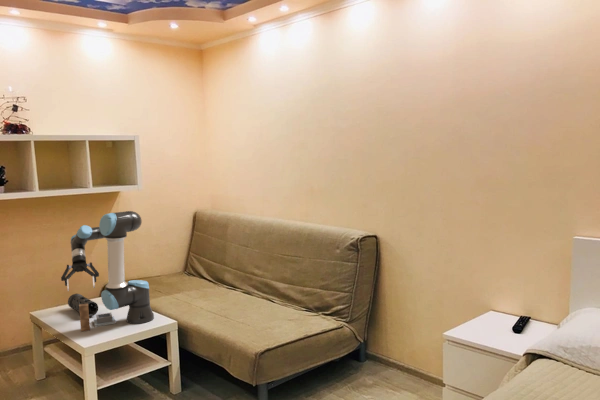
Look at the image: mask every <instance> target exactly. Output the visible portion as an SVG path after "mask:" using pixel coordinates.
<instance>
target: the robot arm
mask: <svg viewBox="0 0 600 400" xmlns="http://www.w3.org/2000/svg"><path fill="white" fill-rule="evenodd" d="M142 222H143V220H142V217H141V215H140V214H139V213H138V212H135V211H133V210H127V211H117V212H110V213H105V214H104V215H102V216H101V218H100V220H99V225H98V226H94V227H91V226H89V225H86V224H83V225H82V226H79V228H78V230H77V232H76V234H74V235H72V236H71V238H70V248H71V263H72V264H71V265H69V264H66V267H65V270H64V272H63V274H62V275H61V276H60V280H61V281H62V282H64V286H65V287H66V286H67V287H66V288H67V289H66V290H67V292H70V287H69V280H70V278H72V276H73V275H74V274H75V273H80V272H81V273H82V272H85V273H87V274H88V275H90V277H92V278H91V279H92V287H93V288H94V289H95V288H96V283H97V277H100V273H99V272H98V270H97V269H96V268H95V266H94V265H93V262H91V261H90V262H89V263H87V258H86V248H85V247H86V244H87V243H88V241H94V240H101V239H105V240H106V242H107V244H106V245H107V276H108V277H107V279H108V281H107V283H106V284H105V289H104V290H102V291H101V296H100V297H101V301H102V304H103V306H104V307H105V308H106V309H107V310H109V311H113V310H118V309H120V308H125V307H128V311H127V316H126V322H127V324H132V325H133V324H134V325H137V324H138V325H139V324H145V323H148V322H151V321H153V320H154V319H155V315H154V312H153V309H152V307H151V299H150V297H151V296H150V286H149V285H150V284H149V282H148V281H147V280H141V279H134V280H133V279H132V280H129V281H126V276H125V274H126V273H125V239H126V238H127V237H128V236H127V234H128V233H129V232H130V233H131V232H134V231H136V230H138V229H139V228H140V227H141V225H142ZM89 268H90V269H91V270H90V269H89ZM70 270H71V271H70ZM69 271H70V272H69Z"/></svg>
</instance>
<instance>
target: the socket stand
mask: <svg viewBox="0 0 600 400" xmlns="http://www.w3.org/2000/svg"><path fill="white" fill-rule="evenodd" d="M95 316H96V318H95V319H93V324H94V327H101V326H108V325H113V324H116V319H115V316H113V314H112V312H106V313H99V314H98V313H97V314H95Z"/></svg>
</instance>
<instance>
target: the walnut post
mask: <svg viewBox="0 0 600 400" xmlns="http://www.w3.org/2000/svg"><path fill="white" fill-rule="evenodd" d="M79 310H80V312H79V322H80V323H79V324H80V333H81V332H86V331H91V327H90V325H91V323H90V317H89V309H88V303H87V304H80V305H79Z"/></svg>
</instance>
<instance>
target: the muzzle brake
mask: <svg viewBox="0 0 600 400" xmlns="http://www.w3.org/2000/svg"><path fill="white" fill-rule="evenodd" d="M87 303H88V309H89V319H91V318H93V316H96V315H97V314H98V311H99V305H98V303H97V302H95V301H93V300H91V299H90V298H87V297H85V296H84V295H83V294H80V293H73V294H71V295H70V296H69V297H68V298H67V305H68V307H69V308H71V309H72V310H75V311H77V312H79V313H80V310H79V305H80V304H87Z"/></svg>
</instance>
